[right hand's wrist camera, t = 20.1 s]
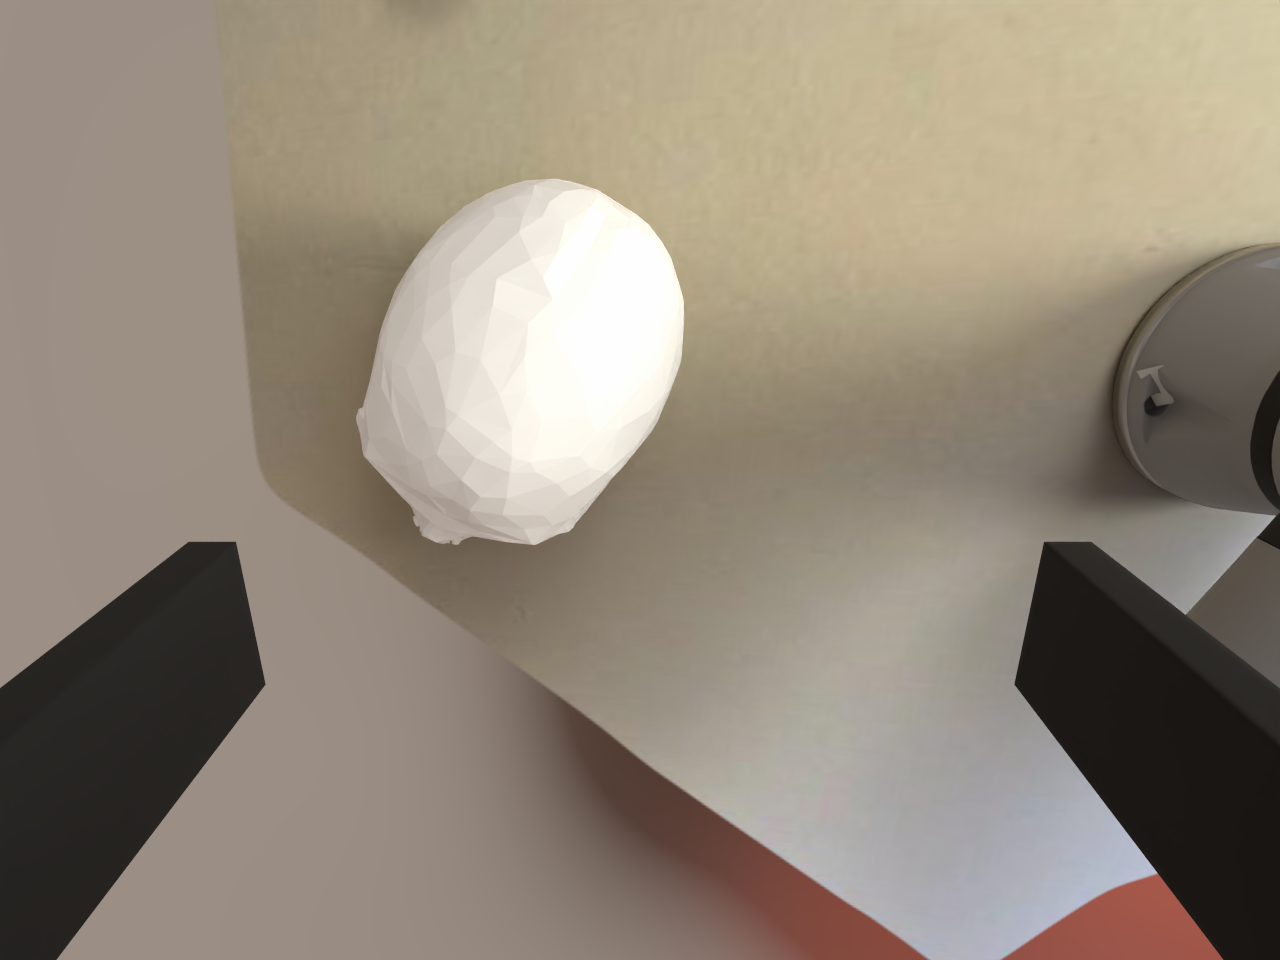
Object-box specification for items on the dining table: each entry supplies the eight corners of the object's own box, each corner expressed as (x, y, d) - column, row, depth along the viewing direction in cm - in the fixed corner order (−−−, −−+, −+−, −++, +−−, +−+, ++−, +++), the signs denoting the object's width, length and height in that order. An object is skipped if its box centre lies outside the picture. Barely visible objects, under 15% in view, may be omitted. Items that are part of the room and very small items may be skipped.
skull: (354, 481, 47) (236, 618, 32) (493, 134, 40) (422, 107, 25) (551, 564, 50) (524, 727, 35) (713, 251, 43) (765, 289, 28)
